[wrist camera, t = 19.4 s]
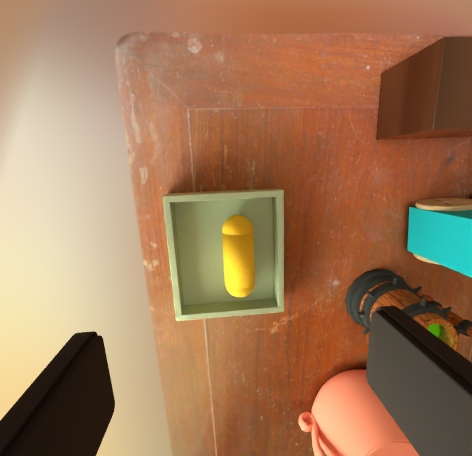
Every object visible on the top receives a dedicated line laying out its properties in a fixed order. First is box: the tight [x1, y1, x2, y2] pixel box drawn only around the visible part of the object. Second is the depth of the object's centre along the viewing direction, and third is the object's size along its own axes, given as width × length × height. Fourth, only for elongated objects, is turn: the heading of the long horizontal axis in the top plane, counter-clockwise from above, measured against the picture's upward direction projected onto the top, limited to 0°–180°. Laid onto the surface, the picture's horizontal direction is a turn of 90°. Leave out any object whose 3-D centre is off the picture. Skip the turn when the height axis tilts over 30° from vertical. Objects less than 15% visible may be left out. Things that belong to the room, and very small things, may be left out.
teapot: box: [299, 369, 419, 456], centre depth 37 cm, size 22×16×12 cm
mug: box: [346, 269, 472, 352], centre depth 34 cm, size 13×10×12 cm
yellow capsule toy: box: [222, 215, 255, 297], centre depth 33 cm, size 11×4×4 cm
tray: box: [163, 188, 284, 321], centre depth 34 cm, size 17×15×3 cm
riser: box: [377, 37, 472, 140], centre depth 29 cm, size 15×8×9 cm, turn 93°
